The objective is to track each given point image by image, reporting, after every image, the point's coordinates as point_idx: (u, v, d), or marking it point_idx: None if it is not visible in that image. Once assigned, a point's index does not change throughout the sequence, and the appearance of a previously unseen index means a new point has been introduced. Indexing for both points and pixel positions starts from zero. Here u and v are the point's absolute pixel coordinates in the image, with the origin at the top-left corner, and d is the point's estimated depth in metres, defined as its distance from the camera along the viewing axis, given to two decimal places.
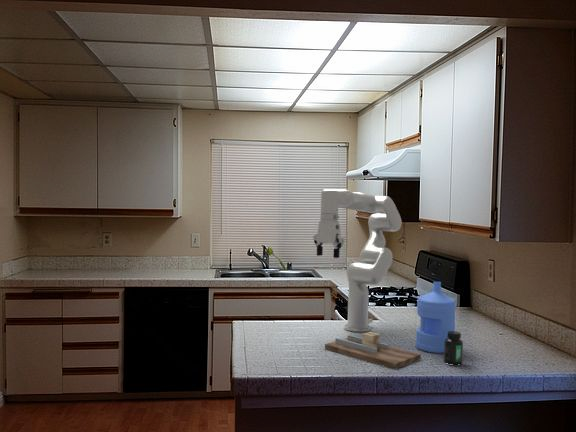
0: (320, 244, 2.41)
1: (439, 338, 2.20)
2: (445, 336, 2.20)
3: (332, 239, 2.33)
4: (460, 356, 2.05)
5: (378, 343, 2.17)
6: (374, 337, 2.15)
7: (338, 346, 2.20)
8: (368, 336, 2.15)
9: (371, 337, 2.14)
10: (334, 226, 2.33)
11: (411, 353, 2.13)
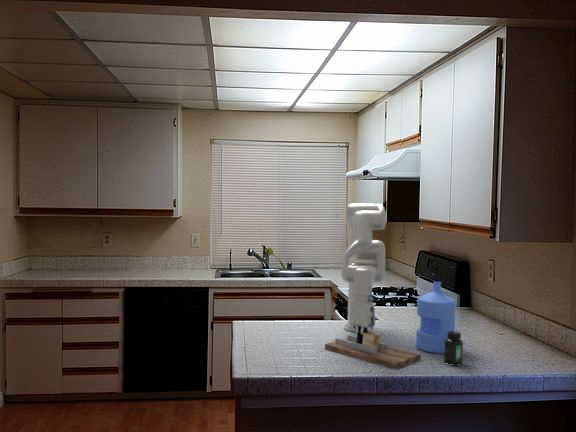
0: (360, 329, 2.22)
1: (439, 338, 2.20)
2: (445, 336, 2.20)
3: (366, 323, 2.16)
4: (460, 356, 2.05)
5: (378, 343, 2.17)
6: (375, 337, 2.14)
7: (338, 346, 2.20)
8: (369, 336, 2.15)
9: (372, 337, 2.14)
10: (368, 309, 2.16)
11: (411, 353, 2.13)
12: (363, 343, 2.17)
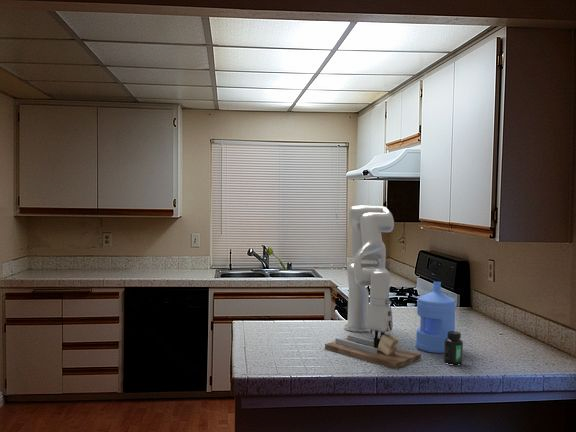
0: (376, 333, 2.16)
1: (439, 338, 2.20)
2: (445, 336, 2.20)
3: (384, 327, 2.10)
4: (460, 356, 2.05)
5: (395, 347, 2.12)
6: (393, 342, 2.09)
7: (338, 346, 2.20)
8: (387, 340, 2.09)
9: (390, 342, 2.08)
10: (386, 313, 2.10)
11: (411, 353, 2.13)
12: (379, 344, 2.12)
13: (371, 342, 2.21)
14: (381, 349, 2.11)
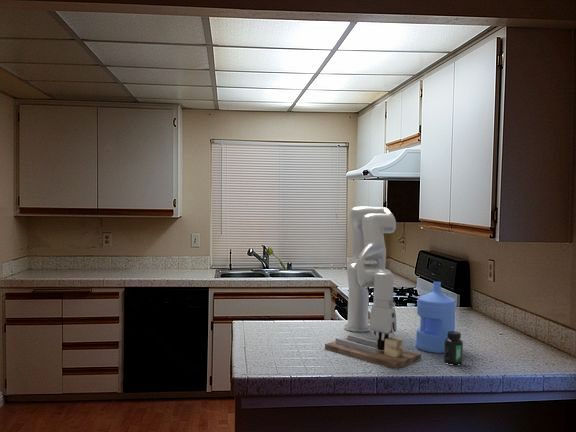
0: (380, 335, 2.15)
1: (439, 338, 2.20)
2: (445, 336, 2.20)
3: (388, 329, 2.09)
4: (460, 356, 2.05)
5: (401, 349, 2.10)
6: (397, 343, 2.07)
7: (338, 346, 2.20)
8: (391, 342, 2.08)
9: (394, 343, 2.07)
10: (390, 314, 2.09)
11: (411, 353, 2.13)
12: (385, 349, 2.10)
13: (371, 342, 2.21)
14: (388, 353, 2.09)
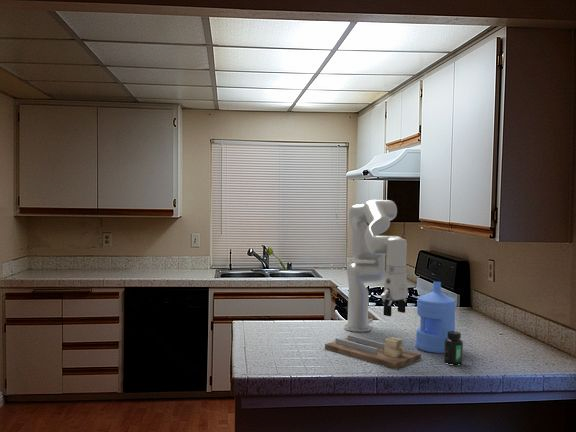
0: (403, 300, 2.12)
1: (439, 338, 2.20)
2: (445, 336, 2.20)
3: None
4: (460, 356, 2.05)
5: (401, 349, 2.10)
6: (397, 343, 2.07)
7: (338, 346, 2.20)
8: (391, 342, 2.08)
9: (394, 343, 2.07)
10: (385, 279, 2.07)
11: (411, 353, 2.13)
12: (385, 349, 2.10)
13: (371, 342, 2.21)
14: (388, 353, 2.09)
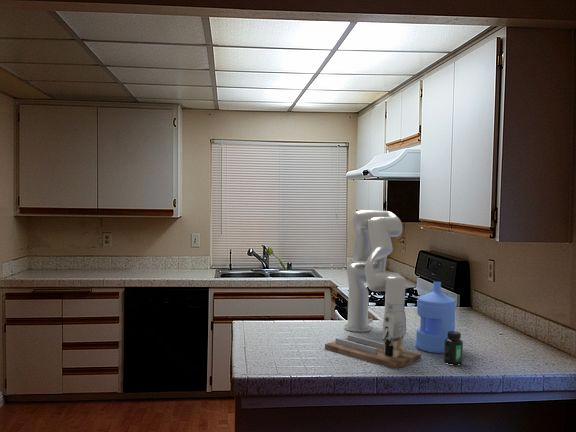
0: None
1: (439, 338, 2.20)
2: (445, 336, 2.20)
3: None
4: (460, 356, 2.05)
5: (401, 349, 2.10)
6: (397, 343, 2.07)
7: (338, 346, 2.20)
8: None
9: (394, 343, 2.07)
10: (384, 317, 2.07)
11: (411, 353, 2.13)
12: None
13: (371, 342, 2.21)
14: None
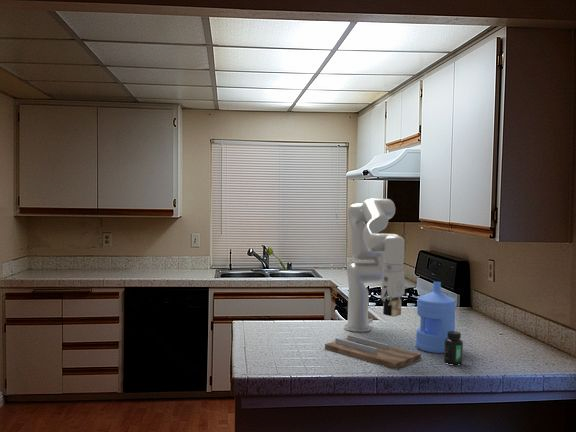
0: None
1: (439, 338, 2.20)
2: (445, 336, 2.20)
3: None
4: (460, 356, 2.05)
5: (399, 309, 2.11)
6: (396, 302, 2.09)
7: (338, 346, 2.20)
8: None
9: (393, 302, 2.08)
10: (383, 277, 2.09)
11: (411, 353, 2.13)
12: None
13: (371, 342, 2.21)
14: None
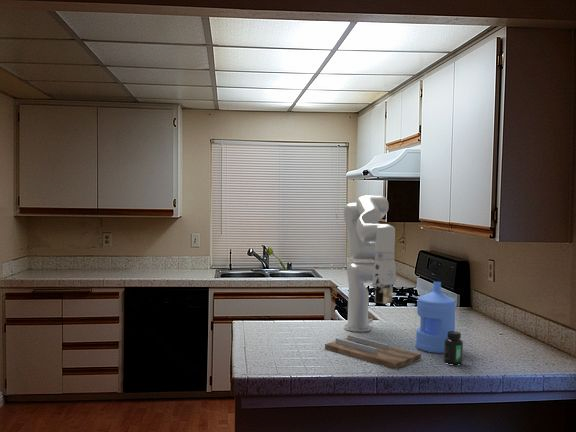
0: None
1: (439, 338, 2.20)
2: (445, 336, 2.20)
3: None
4: (460, 356, 2.05)
5: (391, 296, 2.17)
6: (387, 290, 2.15)
7: (338, 346, 2.20)
8: None
9: (384, 289, 2.14)
10: (374, 265, 2.15)
11: (411, 353, 2.13)
12: None
13: (371, 342, 2.21)
14: None
